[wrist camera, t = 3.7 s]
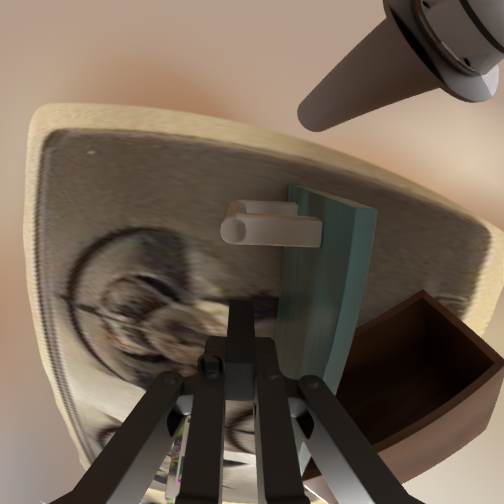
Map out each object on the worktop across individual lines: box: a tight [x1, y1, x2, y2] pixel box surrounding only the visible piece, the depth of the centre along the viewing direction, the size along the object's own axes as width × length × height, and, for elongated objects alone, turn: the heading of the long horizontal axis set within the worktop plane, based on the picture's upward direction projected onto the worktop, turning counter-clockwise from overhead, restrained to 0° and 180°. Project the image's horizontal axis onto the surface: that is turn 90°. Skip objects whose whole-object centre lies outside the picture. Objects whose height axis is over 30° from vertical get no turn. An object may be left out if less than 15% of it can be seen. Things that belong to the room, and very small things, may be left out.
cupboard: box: [302, 290, 504, 504], centre depth 24 cm, size 14×20×16 cm
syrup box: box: [165, 415, 191, 504], centre depth 27 cm, size 6×6×14 cm
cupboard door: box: [220, 184, 378, 477], centre depth 20 cm, size 6×20×16 cm, turn 177°
